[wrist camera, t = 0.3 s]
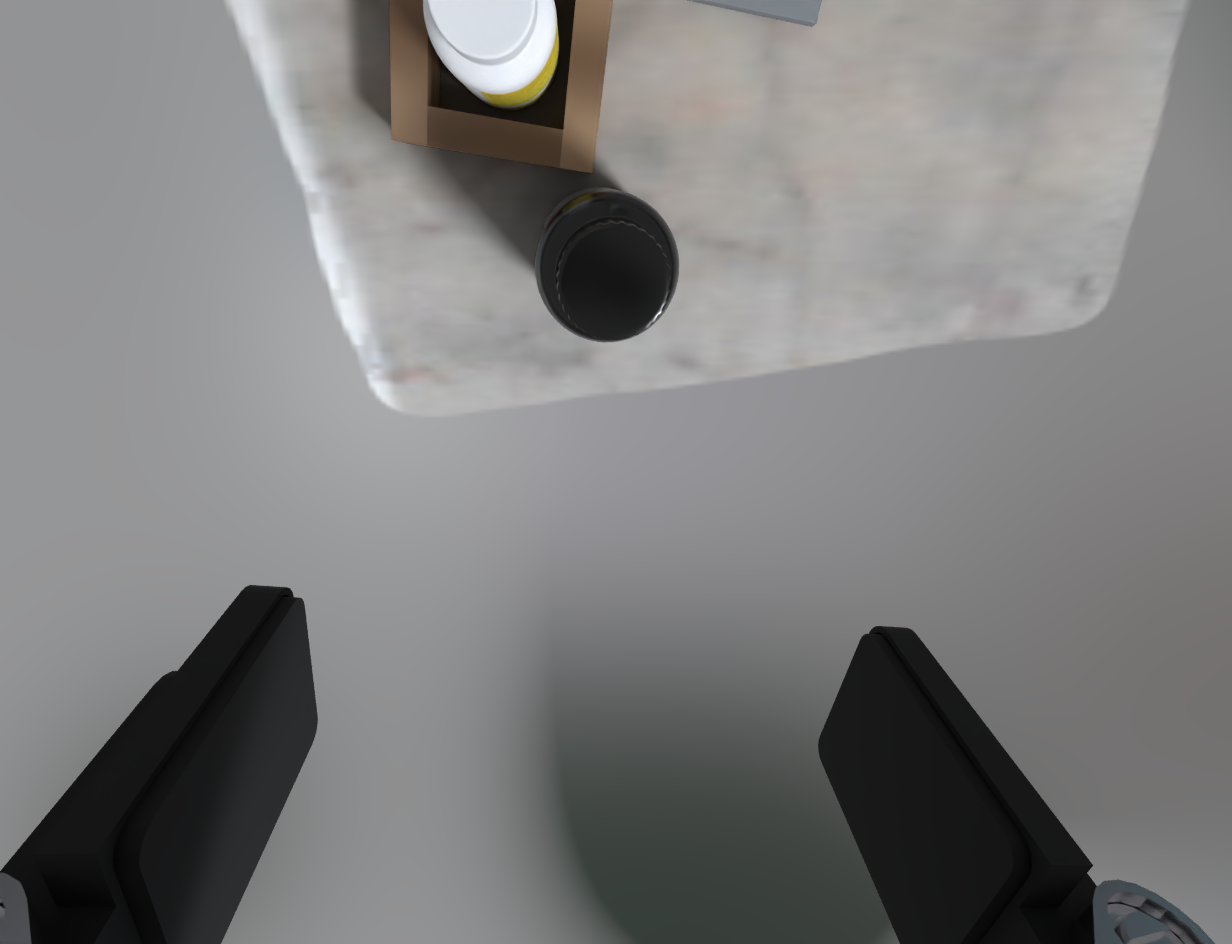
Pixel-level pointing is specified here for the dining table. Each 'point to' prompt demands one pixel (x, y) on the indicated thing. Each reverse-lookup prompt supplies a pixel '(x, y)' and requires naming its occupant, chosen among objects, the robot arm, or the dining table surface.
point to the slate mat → (774, 9)
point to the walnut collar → (488, 136)
